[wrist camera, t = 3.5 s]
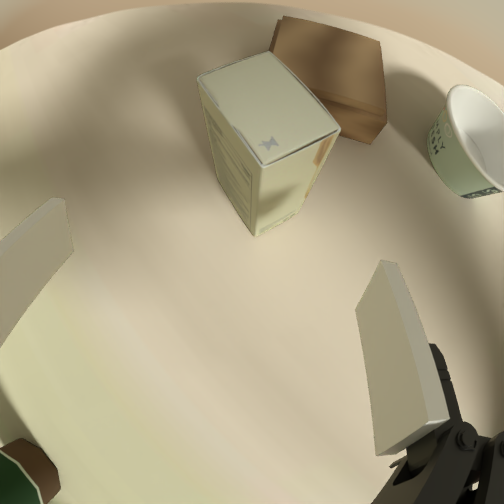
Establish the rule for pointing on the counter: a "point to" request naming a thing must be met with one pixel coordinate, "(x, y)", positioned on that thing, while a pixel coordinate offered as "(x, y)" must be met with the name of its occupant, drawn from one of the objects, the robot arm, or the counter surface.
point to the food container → (469, 143)
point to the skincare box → (265, 137)
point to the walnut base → (336, 73)
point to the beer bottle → (26, 474)
